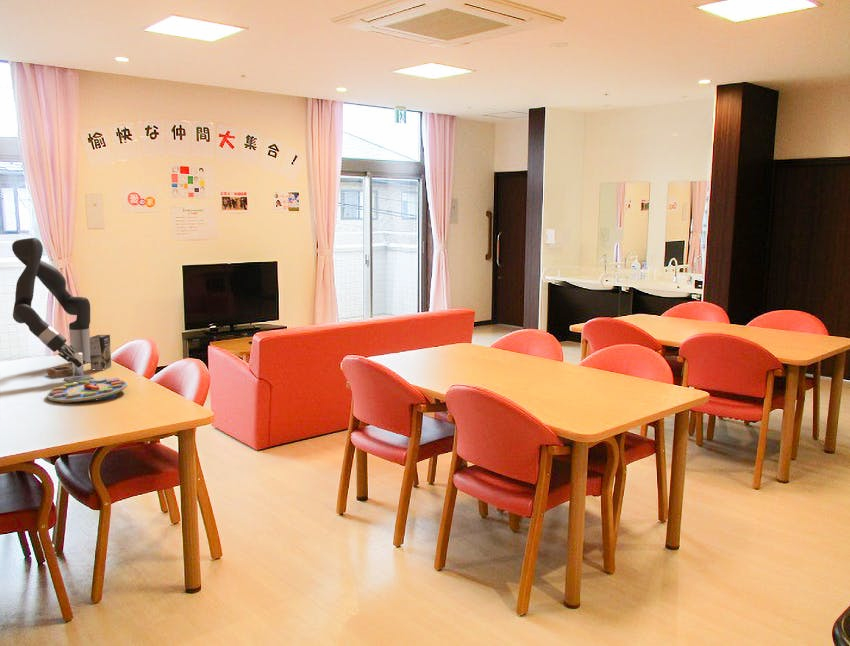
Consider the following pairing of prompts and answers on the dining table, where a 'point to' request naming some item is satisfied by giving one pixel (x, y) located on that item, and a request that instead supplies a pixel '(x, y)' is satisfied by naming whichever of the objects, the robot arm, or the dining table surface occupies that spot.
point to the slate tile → (78, 378)
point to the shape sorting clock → (87, 390)
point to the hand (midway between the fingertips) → (82, 364)
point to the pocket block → (60, 371)
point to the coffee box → (100, 352)
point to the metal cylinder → (76, 370)
